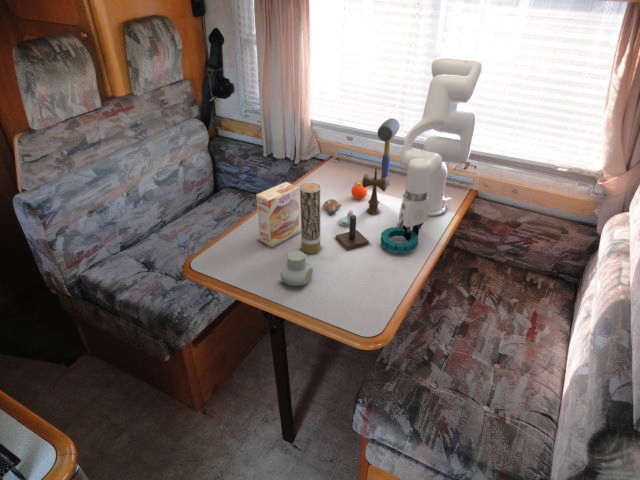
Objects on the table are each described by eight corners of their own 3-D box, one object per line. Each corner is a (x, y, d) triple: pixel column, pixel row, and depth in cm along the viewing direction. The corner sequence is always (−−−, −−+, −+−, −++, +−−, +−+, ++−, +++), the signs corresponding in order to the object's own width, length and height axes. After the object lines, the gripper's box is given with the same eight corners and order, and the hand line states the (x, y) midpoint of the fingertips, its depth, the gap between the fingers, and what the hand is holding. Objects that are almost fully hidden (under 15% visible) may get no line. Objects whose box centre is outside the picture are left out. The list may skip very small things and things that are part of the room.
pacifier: (335, 224, 177) (348, 228, 174) (335, 210, 174) (349, 214, 171) (345, 217, 182) (358, 220, 179) (345, 203, 179) (358, 207, 176)
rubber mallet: (388, 191, 203) (393, 126, 187) (372, 188, 205) (376, 124, 189) (395, 180, 212) (401, 118, 196) (380, 177, 215) (385, 116, 199)
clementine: (347, 195, 199) (347, 181, 195) (361, 192, 201) (361, 178, 197) (355, 203, 193) (356, 188, 189) (369, 200, 195) (370, 185, 191)
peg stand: (356, 233, 172) (357, 209, 166) (368, 244, 165) (370, 219, 159) (335, 238, 168) (336, 214, 163) (347, 250, 162) (348, 225, 156)
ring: (403, 229, 170) (404, 223, 168) (424, 246, 160) (425, 240, 159) (374, 238, 165) (374, 232, 164) (393, 256, 155) (394, 250, 154)
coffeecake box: (271, 247, 163) (268, 200, 152) (259, 240, 167) (254, 194, 157) (300, 232, 172) (299, 186, 162) (287, 225, 176) (285, 180, 166)
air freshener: (292, 268, 152) (291, 244, 147) (315, 274, 149) (314, 249, 144) (278, 286, 144) (276, 261, 138) (301, 293, 141) (300, 267, 136)
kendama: (382, 217, 182) (386, 172, 171) (359, 213, 185) (362, 168, 174) (386, 210, 187) (389, 166, 176) (364, 207, 190) (366, 163, 179)
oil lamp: (317, 213, 187) (333, 219, 183) (316, 205, 184) (332, 211, 180) (330, 202, 192) (345, 208, 188) (329, 195, 190) (345, 200, 186)
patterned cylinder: (306, 256, 158) (305, 192, 145) (298, 246, 164) (296, 184, 150) (323, 251, 161) (323, 188, 148) (315, 242, 166) (314, 181, 153)
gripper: (402, 204, 148) (398, 249, 159) (441, 193, 154) (435, 237, 164) (390, 194, 154) (386, 238, 164) (428, 184, 160) (422, 228, 170)
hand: (410, 237), depth 164 cm, fingers closed on ring, 2 cm apart
